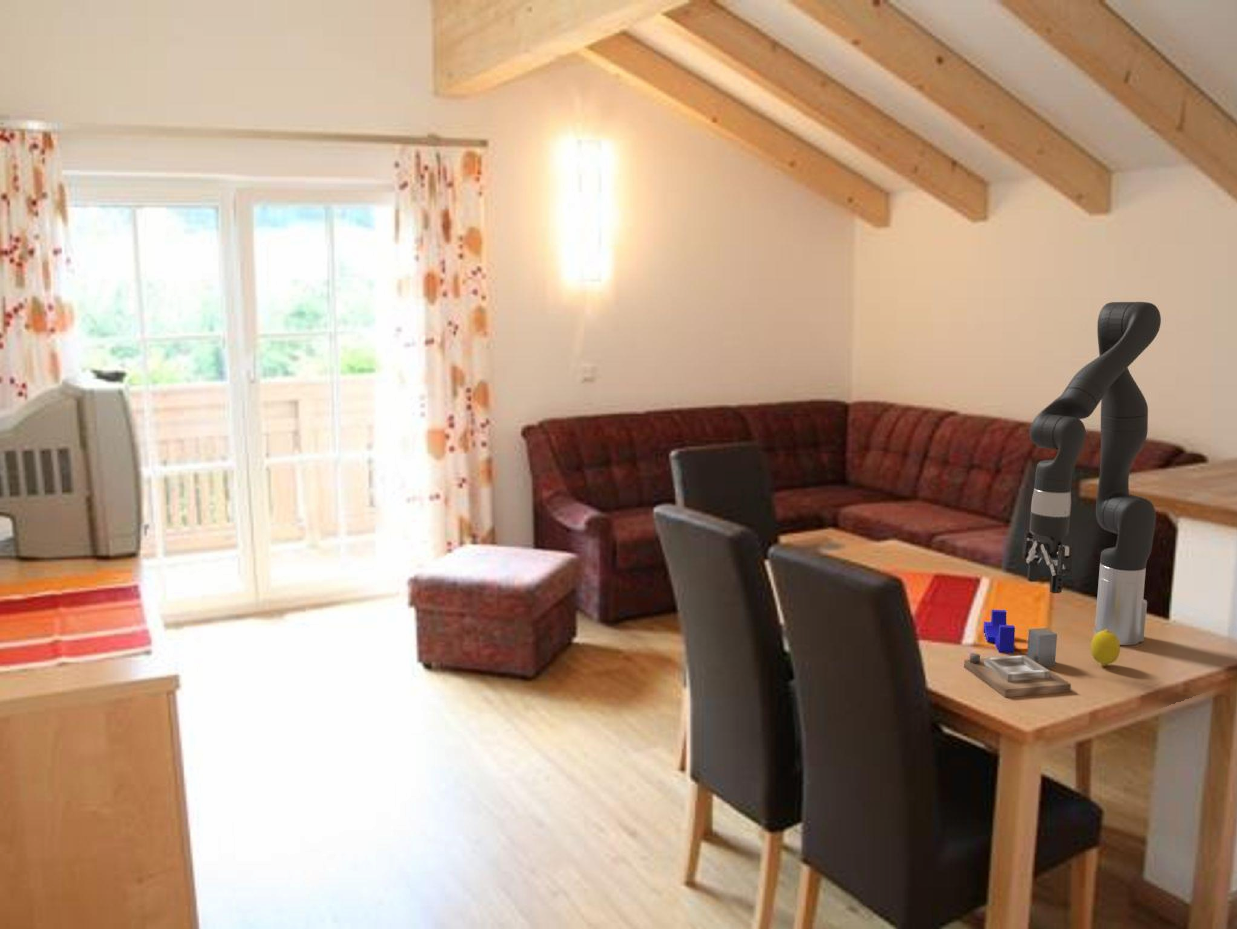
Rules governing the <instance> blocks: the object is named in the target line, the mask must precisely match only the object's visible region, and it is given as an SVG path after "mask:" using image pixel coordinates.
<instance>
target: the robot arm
mask: <svg viewBox="0 0 1237 929" xmlns="http://www.w3.org/2000/svg"><path fill="white" fill-rule="evenodd" d="M1098 314H1099V315H1098V318H1097V326H1096V327H1097V331H1096V332H1097V333H1096V334H1097V343H1098V345H1097V346H1098V355H1099V356H1098V357H1096V358H1094V359H1093V360H1092V361H1090V362H1089V363H1087V364H1085V366H1083V367H1081V369H1080V370H1078V371H1077V372H1076V373H1075V375H1074V376H1073V377H1072V378H1071V380H1070V381H1069V383H1068V385H1066V387H1065V389H1064V390H1063V392H1062V393H1061V395H1059V397H1057V398H1056V399H1054V400H1053V401H1052V402H1051V403H1050V404H1048V405H1046V407H1045V408H1043V409H1042V410H1041V411H1040V412H1039V413H1038V414H1037V415H1036V416H1035V417H1034V419H1033V421H1032V423H1031V425H1030V428H1029V436H1030V438H1029V439H1030V441H1031V442H1032V443H1033V445H1035V446H1036V447H1039V448H1042V449H1050V450H1055V451H1058V452H1057V454H1056V456H1055V457H1054V459H1046V460H1045V459H1043V460H1041V461H1038V463H1037V464H1036V466H1035V467H1036V469H1035V476H1034V486H1033V493H1032V498H1031V506H1030V515H1029V516H1030V518H1029V528H1028V529H1029V531H1025V532H1024V535H1023V536H1024V537H1023V543H1022V552H1021V557H1022V559H1025V560H1026V562H1025V563H1027V573H1026V574H1027V578H1026V579H1027V581H1028V582H1033V583H1034V582H1038V581H1039V575H1040V566H1041V565H1040V562H1041V561H1042V560H1044V561H1045V563H1046V565H1047V566H1048V567H1049V569H1050V573H1051V576H1050V583H1049V584H1050V585H1049V592H1050V593H1052V594H1061V593H1062V591H1063V583H1064V576H1068V575H1072V565H1073V552H1074V551H1073V546H1072V545H1064V543H1063V540H1064V539H1063V538H1065V537H1066V536H1067V535H1069V531H1070V530H1069V529H1070V522H1071V520H1070V519H1071V508H1072V492H1071V491H1072V483H1073V475H1074V474H1073V473H1074V470H1075V467H1076V465H1077V462H1078V459H1079V456H1080V454H1081V452H1082V450H1083V446H1084V443H1085V441H1086V437H1087V430H1086V427H1085V424H1084V423H1083V421H1082V420H1084V419H1087V418H1089V417H1090V416H1091V415H1092V414H1093V413H1094V412H1095V410H1096V408H1097V406H1098V405H1099V404H1100V462H1099V476H1098V486H1097V493H1096V504H1095V515H1096V516H1095V517H1096V520H1097V523H1098V524H1099V526H1100V528H1102V529H1104V530H1105V531H1106V532H1107V531H1108V532H1110V533H1114V534H1116V535H1117V540H1116V544H1115V546H1114V547H1107V548H1105V549H1103V550H1102V551H1101V552H1100V558H1099V559H1100V560H1099V574H1098V586H1097V597H1096V598H1097V599H1096V608H1095V609H1096V610H1095V622H1094V623H1095V624H1094V632H1093V636H1094V635H1095V634H1097V633H1098V632H1100V631H1104V630H1105V629H1107V630H1109V631H1110V632H1112V633H1113V634H1115V635H1116V636H1117V638H1118V640H1119V644H1120V646H1135V645H1137V644H1139V643H1140V642H1141V643H1142V642H1145V641H1144V640H1145V628H1146V618H1147V607H1148V600H1146V599H1144V596H1145V595H1144V594H1145V585H1146V584H1145V582H1146V581H1145V580H1146V569H1147V563H1148V560H1149V557H1150V556H1151V553H1152V550H1153V542H1154V536H1155V530H1156V523H1157V520H1156V519H1157V517H1156V516H1157V513H1156V509H1155V506H1154V504H1153V503H1152V502H1151V500H1149V499H1147V498H1146V497H1145V498H1144V497H1142V496H1138V495H1133V494H1130V490H1129V488H1130V487H1129V485H1130V484H1129V480H1130V471H1131V467H1132V464H1133V463H1134V461H1135V460H1136V457H1137V456H1138V454H1139V453H1140V451H1141V450H1142V448H1143V446H1144V444H1145V442H1146V440H1147V436H1148V430H1149V429H1148V428H1149V424H1148V423H1149V422H1148V421H1149V420H1148V419H1149V406H1148V403H1147V401H1146V398H1145V395H1144V394H1143V392H1142V390H1141V389H1140V387H1139V386H1138V384H1137V382H1136V381H1135V379H1134V377H1133V376H1132V373H1131V372H1130V370H1129V367H1130V366H1131V365H1132V364H1133V363H1134V361H1135V360H1136V359H1137V358H1139V356H1140V355H1141V354H1142V353H1143V352H1144V351H1145V350H1146V349H1147V348H1148V347H1149V346H1150V345H1151V344H1152V343H1153V341H1154V340H1155V338H1156V337H1157V335H1158V333H1159V331H1160V328H1161V324H1162V317H1161V313H1160V309H1159V308H1158V307H1157V306H1156V305H1155V304H1154V303H1151V302H1147V301H1113V302H1112V301H1111V302H1108V303H1106V304H1104V305H1103V306H1102V307H1101V309H1100V311H1099V313H1098ZM1064 564H1065V565H1064Z"/></svg>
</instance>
